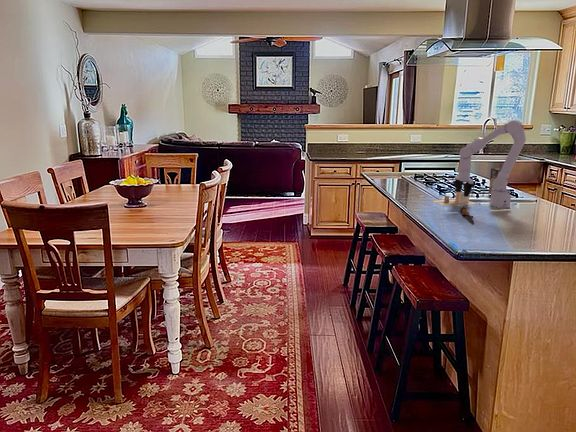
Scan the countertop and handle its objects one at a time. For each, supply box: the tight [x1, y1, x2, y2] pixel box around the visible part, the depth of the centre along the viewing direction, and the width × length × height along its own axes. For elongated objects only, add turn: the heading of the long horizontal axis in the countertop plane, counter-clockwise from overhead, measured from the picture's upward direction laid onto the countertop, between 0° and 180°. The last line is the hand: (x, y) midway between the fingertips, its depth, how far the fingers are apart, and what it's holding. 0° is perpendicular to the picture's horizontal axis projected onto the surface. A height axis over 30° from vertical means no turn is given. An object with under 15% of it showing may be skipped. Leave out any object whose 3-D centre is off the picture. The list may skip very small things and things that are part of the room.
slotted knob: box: [454, 191, 471, 203], centre depth 241 cm, size 6×4×5 cm
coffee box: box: [488, 167, 502, 194], centre depth 259 cm, size 9×6×16 cm
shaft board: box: [429, 195, 478, 207], centre depth 240 cm, size 16×20×4 cm
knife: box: [460, 206, 475, 225], centre depth 208 cm, size 25×3×5 cm
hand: (462, 195), depth 241 cm, fingers open, 7 cm apart
